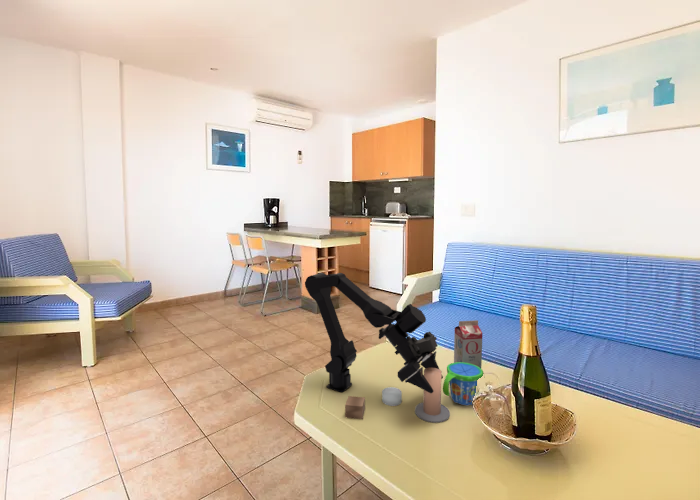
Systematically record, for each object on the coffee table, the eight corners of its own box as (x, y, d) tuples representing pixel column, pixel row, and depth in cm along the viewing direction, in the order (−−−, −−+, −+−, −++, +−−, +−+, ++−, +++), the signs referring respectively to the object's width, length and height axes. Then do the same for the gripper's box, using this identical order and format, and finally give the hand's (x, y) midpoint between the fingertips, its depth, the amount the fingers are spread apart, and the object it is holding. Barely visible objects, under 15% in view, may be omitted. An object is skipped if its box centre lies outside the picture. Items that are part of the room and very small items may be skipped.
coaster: (409, 415, 103) (409, 414, 103) (422, 400, 112) (422, 398, 112) (443, 426, 98) (443, 424, 98) (454, 409, 106) (454, 407, 106)
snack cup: (472, 387, 119) (473, 358, 118) (495, 403, 110) (497, 371, 108) (432, 396, 114) (433, 366, 112) (453, 414, 104) (454, 380, 103)
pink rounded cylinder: (424, 415, 103) (424, 375, 101) (422, 405, 107) (422, 367, 106) (442, 415, 102) (442, 375, 101) (439, 406, 107) (440, 367, 106)
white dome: (378, 402, 111) (378, 393, 110) (387, 394, 116) (387, 385, 115) (396, 408, 108) (396, 398, 107) (404, 399, 113) (404, 390, 112)
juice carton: (480, 387, 119) (482, 323, 117) (461, 388, 118) (463, 324, 116) (471, 378, 126) (473, 317, 123) (453, 379, 125) (454, 318, 123)
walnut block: (345, 418, 103) (345, 404, 102) (348, 408, 108) (348, 395, 107) (362, 419, 102) (362, 406, 101) (365, 410, 107) (365, 397, 106)
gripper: (408, 336, 96) (448, 385, 92) (430, 317, 112) (465, 358, 108) (381, 358, 101) (419, 405, 96) (406, 337, 117) (439, 377, 112)
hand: (437, 385), depth 103 cm, fingers open, 9 cm apart
